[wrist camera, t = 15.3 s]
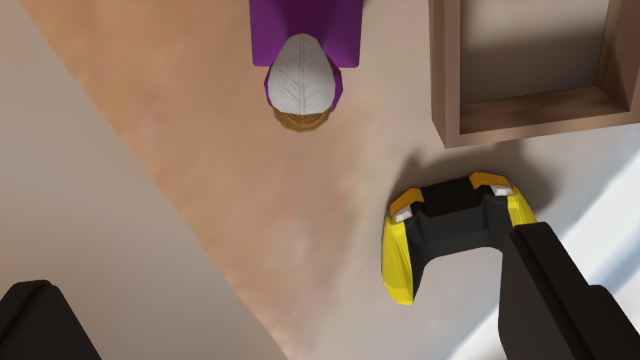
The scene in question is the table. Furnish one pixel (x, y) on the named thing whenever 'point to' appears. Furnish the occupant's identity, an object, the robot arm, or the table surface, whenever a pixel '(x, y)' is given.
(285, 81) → the perfume bottle
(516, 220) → the gaming controller
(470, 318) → the table surface
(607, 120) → the divided wooden tray
